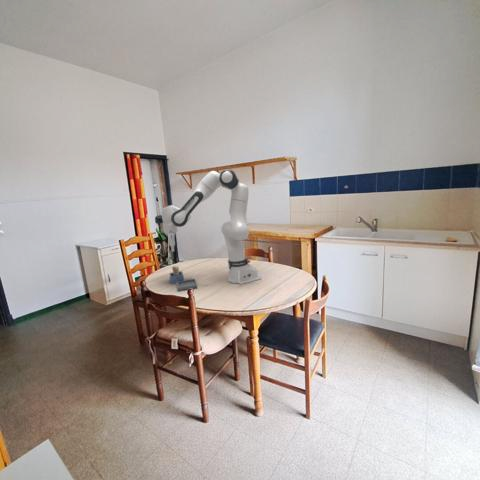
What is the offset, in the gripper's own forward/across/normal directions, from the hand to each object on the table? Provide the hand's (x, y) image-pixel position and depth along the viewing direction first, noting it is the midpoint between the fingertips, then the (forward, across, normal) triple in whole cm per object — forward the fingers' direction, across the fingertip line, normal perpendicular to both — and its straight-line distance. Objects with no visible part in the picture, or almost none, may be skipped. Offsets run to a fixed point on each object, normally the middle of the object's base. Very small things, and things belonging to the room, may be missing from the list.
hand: (172, 249), depth 176 cm
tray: (+22, -14, -6) cm, 27 cm away
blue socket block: (+22, 0, 0) cm, 22 cm away
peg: (+22, 0, 0) cm, 23 cm away
